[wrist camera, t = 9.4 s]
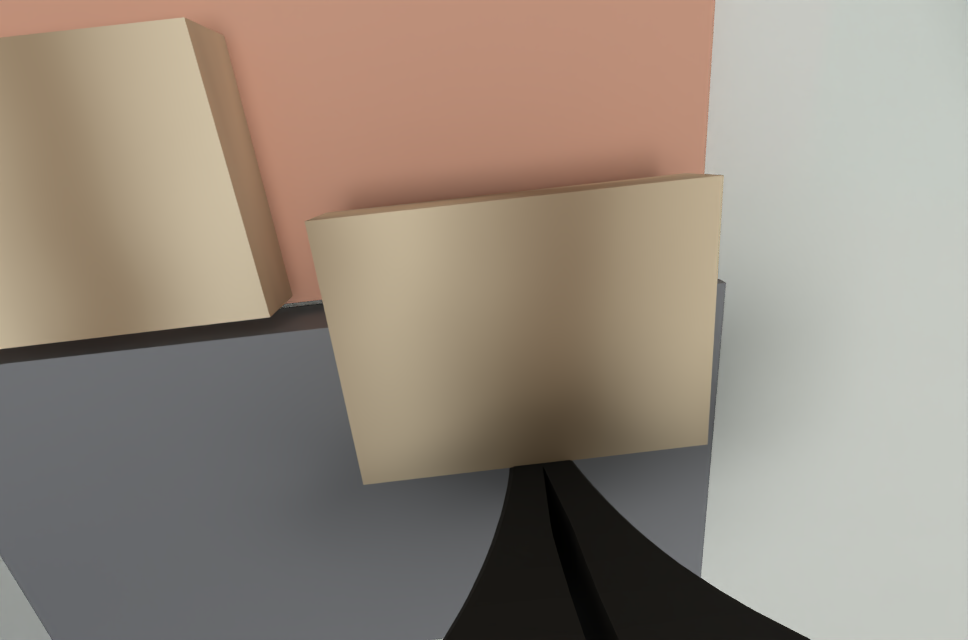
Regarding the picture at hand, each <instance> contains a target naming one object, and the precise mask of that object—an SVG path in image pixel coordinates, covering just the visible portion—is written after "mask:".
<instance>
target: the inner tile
mask: <svg viewBox="0 0 968 640" xmlns="http://www.w3.org/2000/svg"><path fill="white" fill-rule="evenodd" d="M291 297H292V292H291V288H290V284H289V280H288V277H287V273H286V269H285V265H284V261H283V258H282V254H281V250H280V246H279V242H278V239H277V235H276V231H275V227H274V223H273V220H272V216H271V212H270V208H269V204H268V201H267V197H266V193H265V189H264V186H263V182H262V178H261V174H260V170H259V167H258V163H257V159H256V155H255V151H254V148H253V144H252V140H251V136H250V132H249V129H248V125H247V121H246V117H245V113H244V110H243V106H242V102H241V98H240V94H239V91H238V87H237V83H236V79H235V76H234V72H233V68H232V64H231V60H230V57H229V53H228V49H227V45H226V41H225V38H224V35H222V34H219V33H217V32H215V31H213V30H211V29H209V28H206V27H204V26H202V25H200V24H198V23H196V22H193V21H191V20H189V19H187V18H185V17H182V18H173V19H164V20H155V21H146V22H137V23H128V24H119V25H110V26H101V27H91V28H82V29H73V30H64V31H55V32H46V33H37V34H28V35H19V36H10V37H1V38H0V349H5V348H14V347H22V346H31V345H39V344H48V343H56V342H65V341H73V340H81V339H90V338H98V337H107V336H115V335H124V334H132V333H141V332H149V331H158V330H166V329H175V328H183V327H192V326H200V325H209V324H217V323H226V322H234V321H243V320H251V319H260V318H268V317H271V316H272V315H273V314H274V313H275V312H276V311H277V310H278V309H280V308H281V307H282V306H283V305H284V304H285V303H286V302H287V301H288V300H289V299H290V298H291Z"/></svg>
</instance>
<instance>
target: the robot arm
mask: <svg viewBox="0 0 968 640" xmlns="http://www.w3.org/2000/svg"><path fill="white" fill-rule="evenodd" d="M443 640H810V639H809V638H807V637H805V636H803V635H801V634H799V633H797V632H795V631H793V630H791V629H789V628H787V627H785V626H783V625H781V624H779V623H777V622H775V621H774V620H772V619H770V618H768V617H766V616H764V615H762V614H760V613H758V612H756V611H754V610H752V609H751V608H749V607H747V606H745V605H744V604H742V603H740V602H739V601H737V600H735V599H734V598H732V597H730V596H729V595H727V594H725V593H723V592H722V591H720V590H719V589H717V588H715V587H714V586H712V585H711V584H709V583H708V582H706V581H705V580H703V579H702V578H700V577H699V576H697V575H696V574H694V573H693V572H691V571H690V570H689V569H687V568H686V567H684V566H683V565H681V564H680V563H678V562H677V561H676V560H674V559H673V558H672V557H670V556H669V555H668V554H666V553H665V552H664V551H663V550H661V549H660V548H659V547H658V546H656V545H655V544H654V543H653V542H651V541H650V540H649V539H648V538H647V537H645V536H644V535H643V534H642V533H641V532H640V531H639V530H637V529H636V528H635V527H634V526H633V525H632V524H631V523H630V522H629V521H628V520H627V519H626V518H624V517H623V516H622V515H621V514H620V513H619V512H618V511H617V510H616V509H615V508H614V507H613V506H612V505H611V504H610V503H609V502H608V501H607V500H606V499H605V498H604V496H603V495H602V494H601V493H600V492H599V491H598V490H597V489H596V488H595V487H594V486H593V485H592V483H591V482H590V481H589V480H588V479H587V478H586V477H585V475H584V474H583V473H582V472H581V471H580V469H579V468H578V467H577V466H576V464H575V463H574V462H573V461H572V460H565V461H556V462H547V463H539V464H530V465H521V466H514V467H511V468H510V469H509V478H508V485H507V490H506V494H505V499H504V503H503V508H502V511H501V515H500V518H499V521H498V524H497V528H496V531H495V534H494V537H493V540H492V543H491V545H490V548H489V551H488V553H487V556H486V558H485V560H484V563H483V565H482V568H481V570H480V572H479V574H478V576H477V578H476V580H475V583H474V585H473V587H472V589H471V591H470V593H469V595H468V597H467V599H466V601H465V603H464V604H463V606H462V608H461V610H460V612H459V613H458V615H457V617H456V618H455V620H454V622H453V623H452V625H451V627H450V628H449V630H448V632H447V634H446V635H445V637H444V639H443Z"/></svg>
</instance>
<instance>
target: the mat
mask: <svg viewBox="0 0 968 640" xmlns="http://www.w3.org/2000/svg"><path fill="white" fill-rule="evenodd" d="M714 11H715V0H0V38H1V37H10V36H19V35H28V34H37V33H46V32H55V31H64V30H73V29H82V28H91V27H101V26H110V25H119V24H128V23H137V22H146V21H155V20H164V19H173V18H182V17H185V18H187V19H189V20H191V21H193V22H196V23H198V24H200V25H202V26H204V27H206V28H209V29H211V30H213V31H215V32H217V33H219V34H222V35H224V38H225V41H226V45H227V49H228V53H229V57H230V60H231V64H232V68H233V72H234V76H235V79H236V83H237V87H238V91H239V94H240V98H241V102H242V106H243V110H244V113H245V117H246V121H247V125H248V129H249V132H250V136H251V140H252V144H253V148H254V151H255V155H256V159H257V163H258V167H259V170H260V174H261V178H262V182H263V186H264V189H265V193H266V197H267V201H268V204H269V208H270V212H271V216H272V220H273V223H274V227H275V231H276V235H277V239H278V242H279V246H280V250H281V254H282V258H283V261H284V265H285V269H286V273H287V277H288V280H289V284H290V288H291V292H292V297H291V298H290V299H289V300H288V301H287V302H286V303H285V304H288V303H297V302H306V301H314V300H322V297H321V293H320V288H319V284H318V279H317V275H316V270H315V266H314V261H313V257H312V252H311V248H310V243H309V239H308V234H307V230H306V225H305V221H307V220H309V219H312V218H314V217H317V216H319V215H322V214H324V213H327V212H336V211H345V210H354V209H363V208H372V207H381V206H390V205H399V204H409V203H418V202H427V201H436V200H445V199H454V198H463V197H472V196H481V195H491V194H500V193H509V192H518V191H527V190H536V189H545V188H554V187H564V186H573V185H582V184H591V183H600V182H609V181H618V180H627V179H636V178H646V177H655V176H664V175H673V174H682V173H693V174H704V170H705V154H706V138H707V122H708V106H709V90H710V74H711V59H712V43H713V27H714Z"/></svg>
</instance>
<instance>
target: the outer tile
mask: <svg viewBox="0 0 968 640" xmlns="http://www.w3.org/2000/svg"><path fill="white" fill-rule="evenodd" d="M723 178H724V175H710V174H693V173H682V174H673V175H664V176H655V177H646V178H636V179H627V180H618V181H609V182H600V183H591V184H582V185H573V186H564V187H554V188H545V189H536V190H527V191H518V192H509V193H500V194H491V195H481V196H472V197H463V198H454V199H445V200H436V201H427V202H418V203H409V204H399V205H390V206H381V207H372V208H363V209H354V210H345V211H336V212H327V213H324V214H322V215H319V216H317V217H314V218H312V219H309V220H307V221H305V225H306V230H307V234H308V239H309V243H310V248H311V252H312V257H313V261H314V266H315V270H316V275H317V279H318V284H319V288H320V293H321V297H322V302H323V306H324V310H325V315H326V319H327V324H328V328H329V333H330V337H331V342H332V346H333V351H334V355H335V360H336V364H337V369H338V373H339V378H340V382H341V387H342V391H343V396H344V400H345V404H346V409H347V413H348V418H349V422H350V427H351V431H352V436H353V440H354V445H355V449H356V454H357V458H358V463H359V467H360V472H361V476H362V481H363V485H367V484H375V483H384V482H392V481H401V480H409V479H418V478H426V477H435V476H443V475H452V474H460V473H469V472H477V471H486V470H494V469H503V468H511V467H514V466H521V465H530V464H539V463H547V462H556V461H565V460H579V459H588V458H596V457H605V456H613V455H622V454H631V453H639V452H648V451H656V450H665V449H673V448H682V447H690V446H699V445H707V444H708V429H709V412H710V395H711V378H712V362H713V345H714V328H715V312H716V295H717V278H718V262H719V245H720V228H721V212H722V195H723Z"/></svg>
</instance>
